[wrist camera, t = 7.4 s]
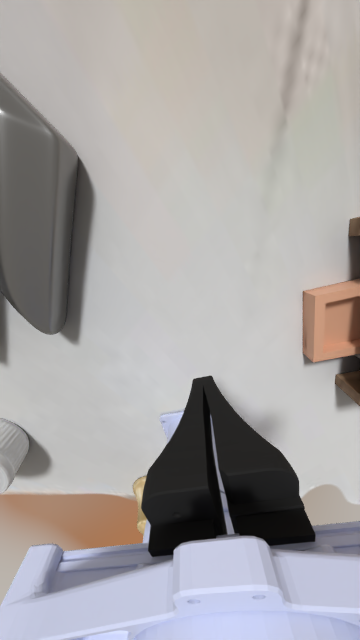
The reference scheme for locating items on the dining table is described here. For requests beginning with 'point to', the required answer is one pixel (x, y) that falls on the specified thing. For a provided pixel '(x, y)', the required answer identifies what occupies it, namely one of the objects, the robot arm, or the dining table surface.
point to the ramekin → (11, 451)
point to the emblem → (34, 211)
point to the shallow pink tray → (331, 321)
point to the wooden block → (356, 382)
